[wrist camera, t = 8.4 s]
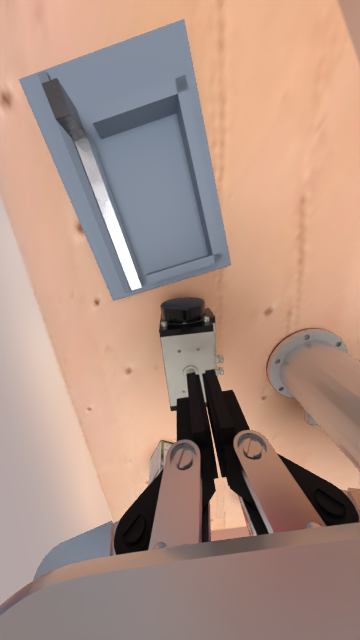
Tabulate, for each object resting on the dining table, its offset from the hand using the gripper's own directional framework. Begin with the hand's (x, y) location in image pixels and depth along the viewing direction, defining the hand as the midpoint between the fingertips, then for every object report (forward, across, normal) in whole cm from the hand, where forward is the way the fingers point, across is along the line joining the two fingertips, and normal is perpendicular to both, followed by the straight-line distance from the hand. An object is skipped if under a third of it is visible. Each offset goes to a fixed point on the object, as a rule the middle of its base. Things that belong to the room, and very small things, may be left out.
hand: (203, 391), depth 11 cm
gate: (+15, +6, -13) cm, 21 cm away
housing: (+16, +3, -16) cm, 23 cm away
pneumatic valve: (+17, +1, +2) cm, 17 cm away
